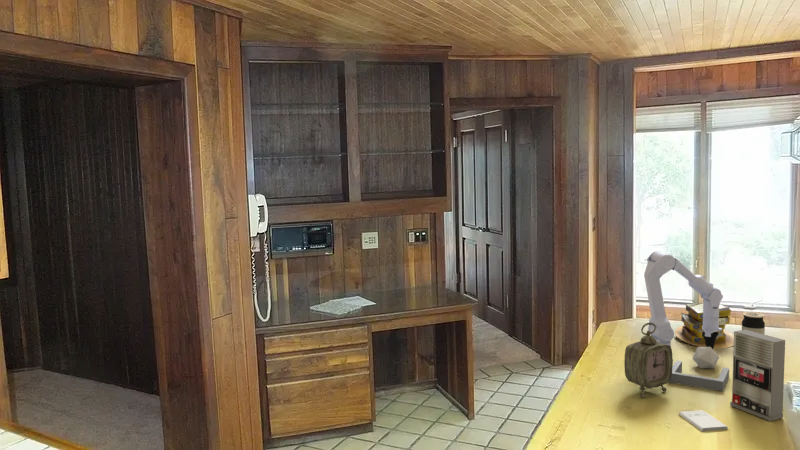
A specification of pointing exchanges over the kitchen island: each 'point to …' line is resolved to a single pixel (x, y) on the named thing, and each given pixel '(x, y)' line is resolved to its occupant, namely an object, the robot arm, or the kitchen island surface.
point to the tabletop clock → (648, 362)
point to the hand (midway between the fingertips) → (710, 349)
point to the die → (705, 357)
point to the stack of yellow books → (695, 322)
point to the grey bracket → (699, 378)
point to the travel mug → (753, 322)
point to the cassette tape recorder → (758, 374)
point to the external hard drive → (703, 420)
